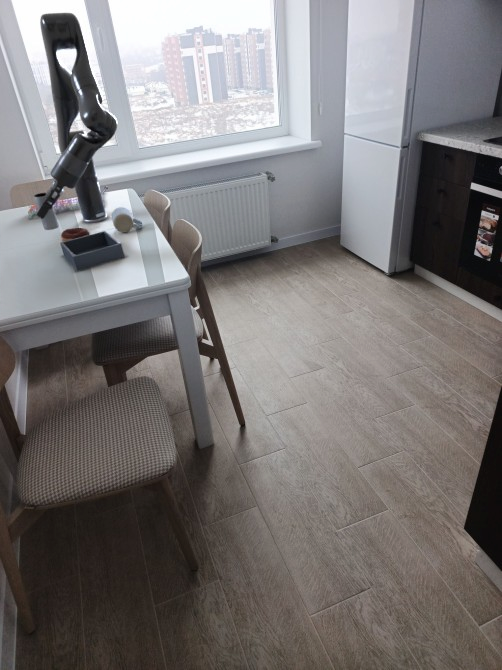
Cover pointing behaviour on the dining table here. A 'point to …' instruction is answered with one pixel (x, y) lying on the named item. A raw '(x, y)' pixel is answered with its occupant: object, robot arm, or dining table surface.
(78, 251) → the dark grey open tray
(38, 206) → the white and black tumbler
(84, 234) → the donut
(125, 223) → the ceramic mug
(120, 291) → the dining table surface
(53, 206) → the multicolour bumpy slab
